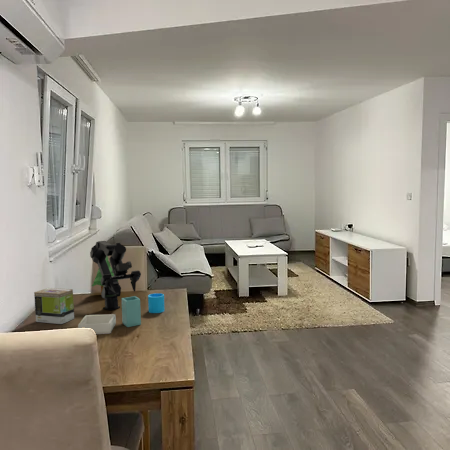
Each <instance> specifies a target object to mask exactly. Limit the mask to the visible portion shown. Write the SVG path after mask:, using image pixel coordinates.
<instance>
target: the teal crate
mask: <svg viewBox="0 0 450 450" xmlns="http://www.w3.org/2000/svg"><path fill="white" fill-rule="evenodd" d="M141 311H142V310H141V299H140V298H139V297H137V296H136V295H134V296H127V297H121V318H122V320H121V322H122V325H124V326H125V327H126V328H130V327H135V326H141V325H142V318H141V317H142V316H141V315H142V314H141Z"/></svg>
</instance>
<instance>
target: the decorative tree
mask: <svg viewBox="0 0 450 450" xmlns="http://www.w3.org/2000/svg"><path fill="white" fill-rule="evenodd" d="M106 262H107V265H108V267H109V270H110V272H111V275H112V276H114V274H113V273H112V267H111V264H110V260H109V256H106ZM101 278H102V275H101V272H100V269H99V268H98V269H97V272H96V275H95V277H94V281H93V283H92V285H91V287H94V286H97V285H98V286H100V294H101V293H102V290H103V286H104V285H103V286H102V285H101ZM117 281H118V282H119V280H117Z"/></svg>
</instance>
